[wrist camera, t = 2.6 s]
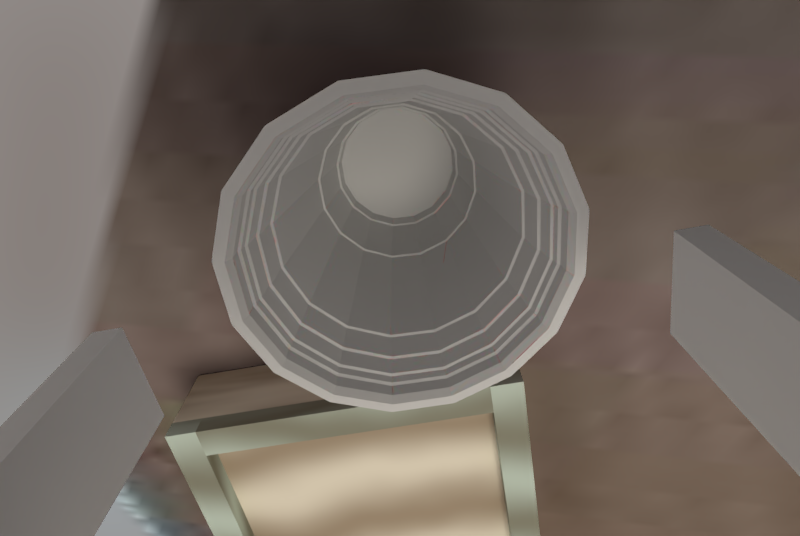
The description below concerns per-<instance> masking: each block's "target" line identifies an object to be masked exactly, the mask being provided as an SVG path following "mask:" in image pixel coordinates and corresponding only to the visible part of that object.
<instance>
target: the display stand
mask: <svg viewBox="0 0 800 536" xmlns="http://www.w3.org/2000/svg"><path fill="white" fill-rule="evenodd" d="M165 438H166V440H167V442H168V444H169V446H170V448H171V450H172V452H173V455H174V457H175V459H176V461H177V463H178V465H179V467H180V469H181V471H182V473H183V475H184V477H185V479H186V481H187V483H188V485H189V487H190V489H191V491H192V493H193V495H194V497H195V499H196V501H197V503H198V505H199V507H200V509H201V511H202V513H203V515H204V517H205V519H206V521H207V523H208V525H209V527H210V529H211V531H212V533H213V535H214V536H540V531H539V521H538V512H537V502H536V493H535V484H534V474H533V465H532V456H531V446H530V437H529V427H528V418H527V409H526V399H525V390H524V381H523V378H522V376H521V373H520V370H519V369H518V370H517V371H516V372H515V373H514V374H513V375H512V376H510V377H508V378H506V379H504V380H502V381H500V382H498V383H496V384H494V385H491V386H489V387H487V388H485V389H483V390H481V391H479V392H477V393H475V394H473V395H470V396H468V397H466V398H464V399H462V400H460V401H458V402H456V403H452V404H445V405H438V406H431V407H424V408H417V409H410V410H403V411H396V412H388V411H382V410H376V409H369V408H363V407H357V406H351V405H345V404H338V403H332V402H329V401H327V400H325V399H323V398H321V397H319V396H317V395H315V394H313V393H312V392H310V391H308V390H306V389H304V388H302V387H300V386H298V385H296V384H294V383H293V382H291V381H289V380H287V379H285V378H283V377H281V376H279V375H277V374H275V373H274V372H273V371H272V370H271V369H270V368H269V367H268V365H262V366H256V367H249V368H243V369H237V370H231V371H225V372H219V373H212V374H206V375H200V376H198V378H197V380H196V382H195V383H194V385H193V387H192V389H191V391H190V392H189V394H188V396H187V398H186V400H185V401H184V403H183V405H182V407H181V409H180V410H179V412H178V414H177V416H176V418H175V419H174V421H173V423H172V425H171V427H170V428H169V430H168V432H167V434H166V436H165Z"/></svg>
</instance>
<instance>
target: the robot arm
mask: <svg viewBox="0 0 800 536" xmlns="http://www.w3.org/2000/svg"><path fill="white" fill-rule="evenodd" d="M670 334H671V335H672V336H673V337H674V338H675V339H676V340H677V341H678V343H679V344H680V345H681V346H682V347H683V348H684V349H685V350H686V351H687V352H688V354H689V355H690V356H691V357H692V358H693V359H694V360H695V361H696V362H697V363H698V365H699V366H700V367H701V368H702V369H703V370H704V371H705V372H706V373H707V375H708V376H709V377H710V378H711V379H712V380H713V381H714V382H715V383H716V384H717V386H718V387H719V388H720V389H721V390H722V391H723V392H724V393H725V394H726V396H727V397H728V398H729V399H730V400H731V401H732V402H733V403H734V404H735V405H736V407H737V408H738V409H739V410H740V411H741V412H742V413H743V414H744V415H745V416H746V418H747V419H748V420H749V421H750V422H751V423H752V424H753V425H754V426H755V428H756V429H757V430H758V431H759V432H760V433H761V434H762V435H763V436H764V437H765V439H766V440H767V441H768V442H769V443H770V444H771V445H772V446H773V447H774V449H775V450H776V451H777V452H778V453H779V454H780V455H781V456H782V457H783V458H784V460H785V461H786V462H787V463H788V464H789V465H790V466H791V467H792V468H793V469H794V471H795V472H796V473H797V474H798V475H799V476H800V282H799V281H797V280H796V279H794V278H793V277H791V276H789V275H788V274H786V273H785V272H783V271H782V270H780V269H778V268H777V267H775V266H774V265H772V264H770V263H769V262H767V261H766V260H764V259H762V258H761V257H759V256H758V255H756V254H754V253H753V252H751V251H750V250H748V249H746V248H745V247H743V246H742V245H740V244H738V243H737V242H735V241H734V240H732V239H731V238H729V237H727V236H726V235H724V234H723V233H721V232H719V231H718V230H716V229H715V228H713V227H711V226H710V225H704V226H699V227H693V228H687V229H681V230H676V231H674V243H673V271H672V299H671V327H670ZM163 417H164V414H163V412H162V410H161V408H160V406H159V404H158V402H157V399H156V397H155V395H154V393H153V391H152V389H151V387H150V385H149V383H148V381H147V379H146V377H145V375H144V372H143V370H142V368H141V366H140V364H139V362H138V360H137V358H136V356H135V354H134V352H133V350H132V347H131V345H130V343H129V341H128V339H127V337H126V335H125V333H124V331H123V329H122V328H116V329H110V330H105V331H99V332H93V333H91V334H90V335H89V336H88V337H87V338H86V339H85V340H84V341H83V342H82V343H81V344H80V346H79V347H78V348H77V349H76V350H75V351H74V352H73V353H72V354H71V355H70V356H69V357H68V358H67V359H66V360H65V361H64V362H63V363H62V364H61V365H60V366H59V367H58V368H57V369H56V370H55V371H54V372H53V373H52V374H51V375H50V377H48V378H47V380H45V382H43V384H41V385H40V387H38V389H37V390H36V391H35V392H34V393H33V394H32V395H31V396H30V397H29V398H28V399H27V400H26V401H25V402H24V403H23V404H22V405H21V406H20V407H19V408H18V409H17V410H16V411H15V412H14V413H13V414H12V415H11V416H10V417H9V418H8V419H7V421H5V422H4V423H3V424H2V425H1V427H0V536H94V535H95V534H96V532H97V530H98V528H99V527H100V525H101V523H102V522H103V520H104V518H105V516H106V515H107V513H108V511H109V510H110V508H111V506H112V504H113V503H114V501H115V499H116V498H117V496H118V494H119V493H120V491H121V489H122V487H123V486H124V484H125V482H126V481H127V479H128V477H129V475H130V474H131V472H132V470H133V469H134V467H135V465H136V463H137V462H138V460H139V458H140V457H141V455H142V453H143V451H144V450H145V448H146V446H147V445H148V443H149V441H150V439H151V438H152V436H153V434H154V433H155V431H156V429H157V427H158V426H159V424H160V422H161V421H162V419H163Z"/></svg>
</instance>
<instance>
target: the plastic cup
mask: <svg viewBox="0 0 800 536" xmlns="http://www.w3.org/2000/svg"><path fill="white" fill-rule="evenodd" d="M588 225H589V207H588V205H587V202H586V200H585V197H584V195H583V192H582V190H581V187H580V185H579V182H578V180H577V177H576V175H575V173H574V170H573V168H572V165H571V163H570V160H569V158H568V155H567V153H566V150H565V148H564V145H563V144H562V143H561V142H560V141H559V140H558V139H557V138H555V137H554V136H553V135H552V134H551V133H550V132H549V131H548V130H547V129H545V128H544V127H543V126H542V125H541V124H540V123H539V122H538V121H536V120H535V119H534V118H533V117H532V116H531V115H530V114H529V113H527V112H526V111H525V110H524V109H523V108H522V107H521V106H520V105H519V104H517V103H516V102H515V101H514V100H513V99H512V98H511V97H510V96H508V95H507V94H506V93H504V92H501V91H497V90H494V89H490V88H487V87H484V86H480V85H477V84H474V83H470V82H467V81H464V80H460V79H457V78H453V77H450V76H447V75H443V74H440V73H437V72H433V71H430V70H426V69H422V70H414V71H407V72H399V73H392V74H384V75H377V76H369V77H362V78H354V79H347V80H339V81H337V82H335V83H333V84H332V85H330V86H328V87H327V88H325V89H324V90H322V91H320V92H319V93H317V94H315V95H314V96H312V97H310V98H309V99H307V100H306V101H304V102H302V103H301V104H299V105H297V106H296V107H294V108H293V109H291V110H289V111H288V112H286V113H284V114H283V115H281V116H279V117H278V118H276V119H275V120H273V121H271V122H270V123H268V124H266V125H265V126H264V128H263V129H262V131H261V132H260V134H259V135H258V137H257V138H256V140H255V141H254V143H253V144H252V146H251V147H250V149H249V150H248V152H247V153H246V155H245V156H244V158H243V159H242V161H241V162H240V164H239V165H238V167H237V168H236V170H235V171H234V173H233V174H232V176H231V177H230V179H229V180H228V182H227V183H226V185H225V186H224V188H223V189H222V191H221V197H220V204H219V211H218V218H217V226H216V233H215V240H214V247H213V255H212V265H213V268H214V271H215V274H216V277H217V280H218V283H219V287H220V290H221V293H222V296H223V299H224V302H225V305H226V308H227V312H228V315H229V318H230V321H231V324H232V326H233V327H234V328H235V329H236V330H237V331H238V332H239V334H240V335H241V336H242V337H243V338H244V339H245V340H246V342H247V343H248V344H249V345H250V346H251V347H252V348H253V349H254V351H255V352H256V353H257V354H258V355H259V356H260V357H261V359H262V360H263V361H264V362H265V363H266V364H267V365H268V367H269V368H270V369H271V370H272V371H273V372H274V373H275V374H277V375H279V376H281V377H283V378H285V379H287V380H289V381H291V382H293V383H294V384H296V385H298V386H300V387H302V388H304V389H306V390H308V391H310V392H312V393H313V394H315V395H317V396H319V397H321V398H323V399H325V400H327V401H329V402H332V403H338V404H345V405H351V406H357V407H363V408H369V409H376V410H382V411H388V412H396V411H403V410H410V409H417V408H424V407H431V406H438V405H445V404H452V403H456V402H458V401H460V400H462V399H464V398H466V397H468V396H470V395H473V394H475V393H477V392H479V391H481V390H483V389H485V388H487V387H489V386H491V385H494V384H496V383H498V382H500V381H502V380H504V379H506V378H508V377H510V376H512V375H513V374H514V373H515V372H516V371H517V370H518V369H519V368H520V367H521V366H522V365H524V364H525V363H526V362H527V361H528V360H529V359H530V358H531V357H532V356H533V355H534V354H535V353H536V352H537V351H538V350H539V349H540V348H541V347H542V346H544V345H545V344H546V343H547V342H548V341H549V340H550V339H551V338H552V337H553V336H554V335H555V334H556V333H557V332H558V330H559V328H560V326H561V324H562V322H563V320H564V318H565V316H566V314H567V312H568V310H569V308H570V306H571V304H572V302H573V300H574V298H575V296H576V293H577V291H578V289H579V287H580V285H581V283H582V281H583V279H584V277H585V275H586V260H587V242H588Z"/></svg>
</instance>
